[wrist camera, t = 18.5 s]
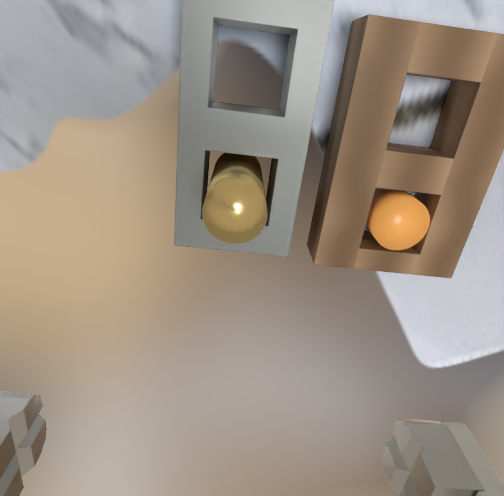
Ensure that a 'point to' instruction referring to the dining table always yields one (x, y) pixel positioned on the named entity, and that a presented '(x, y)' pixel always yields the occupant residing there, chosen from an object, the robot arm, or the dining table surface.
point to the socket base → (404, 156)
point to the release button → (397, 219)
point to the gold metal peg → (235, 199)
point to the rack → (247, 114)
